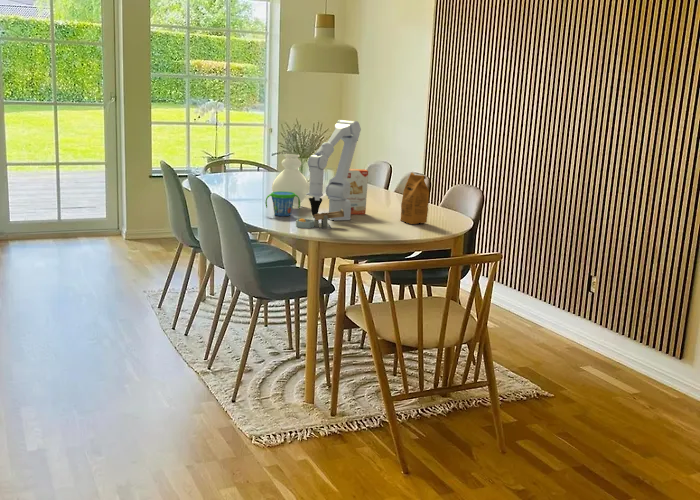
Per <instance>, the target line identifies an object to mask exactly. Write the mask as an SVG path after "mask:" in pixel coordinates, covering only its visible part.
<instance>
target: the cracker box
mask: <svg viewBox="0 0 700 500" xmlns="http://www.w3.org/2000/svg"><path fill="white" fill-rule="evenodd" d="M368 180H369V170H367V169H365V168H362V169H361V168H350V169H349V173H348V177H347V181H348V182H349V183H350V185H351V186H350V195H349V197H348V198H347V199H348V200H350V203H351V215H362V216H363V215H366V211H367V198H368V197H367V195H368V183H369V182H368Z"/></svg>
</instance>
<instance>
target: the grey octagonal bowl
mask: <svg viewBox="0 0 700 500" xmlns="http://www.w3.org/2000/svg"><path fill="white" fill-rule="evenodd" d="M299 219H300V218H298V219H295V227H297V228H301V229H311V227H312V228H315V227H314V219H310V218H304V219H305V221H306V222H301V221H299Z"/></svg>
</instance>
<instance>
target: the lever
mask: <svg viewBox="0 0 700 500" xmlns="http://www.w3.org/2000/svg"><path fill="white" fill-rule="evenodd" d="M324 216H328V220H330V219H329V218H337V217H344V211H343V210H342V209H341V211H336V212H329V211H328V212H321V213H319V212H318V214H314V215H312V214H311V217H312V218H313V219H316V220H319V221H320V220H322V219H324Z"/></svg>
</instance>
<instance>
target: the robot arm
mask: <svg viewBox="0 0 700 500" xmlns="http://www.w3.org/2000/svg"><path fill="white" fill-rule="evenodd" d="M361 131H362V128H361V125H360V122H359V121H357V120H344V119H338V120H337V121H336V123H335V124H334V131H332V134H331V135H330V137H329V138H328V140H327V141H325V142H323V143H322V144H321V145H320V147H319V148H318V149H317V151H316V152H315V153H314V154H312V155H310V156H309V157H308V159H307V162H306V163H307V166H308V171H309V183H308V184H309V192H308V193H306V195H307V196H310V197H308V201H309V205H310V208H311V210H310V211H311V216H312V215H314V214H318V213H319V211H320V210H319V209H320V206H321V204H322V202H323V198H322V197H323V196H324V195H323V194H324V193H323V188H324V172H325V171H324V169H326V168H327V166H328V162H329V158H330V157H331V156H332V154H333V153H334V151H335V147H336V145H337V144H338V143H339V141H340V140H341V141H343V147H342V151H341V154H340V156H339V161H338V164H337V168H336V172H335V174H334V176H333V177H332V178H331V179H329V182H328V184H327V185H326V188H325V195H326V197H327V200H329V201H328V202H329V203H328V213H329V212H336V211H341V209H342V210H343V211H344V217H337V218H329V219H328V220H329V221H332V220H334V221H352V219H351V215H352V214H351V203H350V200H348V199H347V198H348V197H349V195H350V186H351V185H350V183H349V182H348V181H347V177H348V173H349V169H351V165H352V161H353V158H354V154H355V150H356V147H357V143H358V142H359V138H360V135H361V134H360V133H361Z"/></svg>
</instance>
